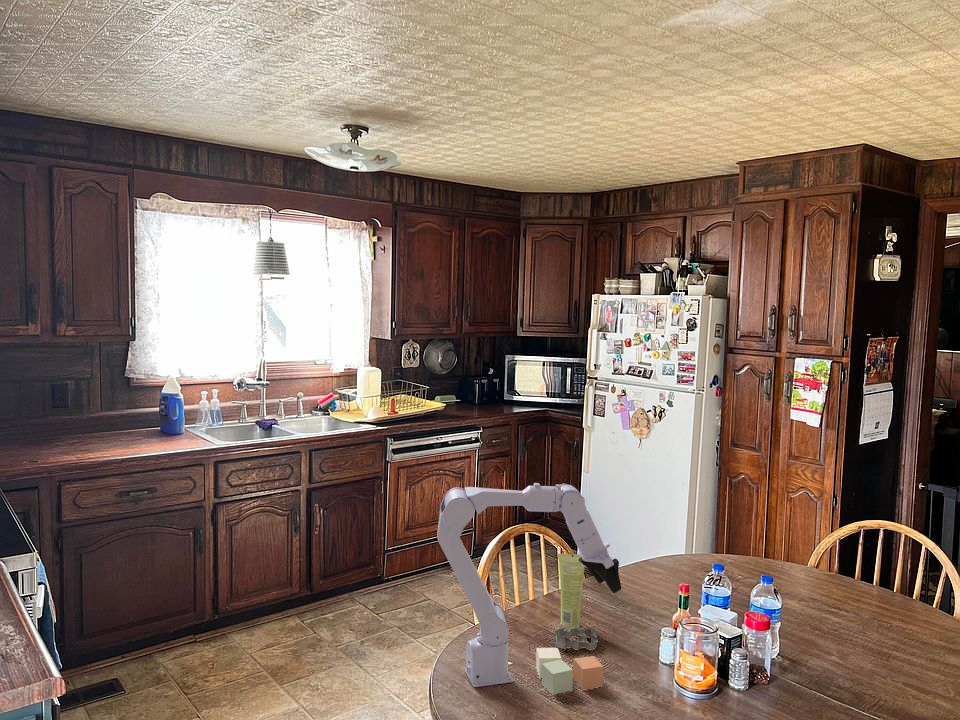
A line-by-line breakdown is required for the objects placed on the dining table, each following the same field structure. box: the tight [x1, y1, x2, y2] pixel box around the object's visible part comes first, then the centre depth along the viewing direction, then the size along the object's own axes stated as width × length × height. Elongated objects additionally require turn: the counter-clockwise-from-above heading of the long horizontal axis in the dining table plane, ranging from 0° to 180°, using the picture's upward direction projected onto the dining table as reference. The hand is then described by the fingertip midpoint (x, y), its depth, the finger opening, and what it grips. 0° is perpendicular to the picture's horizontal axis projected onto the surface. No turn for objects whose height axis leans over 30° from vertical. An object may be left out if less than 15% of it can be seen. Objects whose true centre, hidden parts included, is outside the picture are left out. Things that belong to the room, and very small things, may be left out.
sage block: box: [541, 659, 574, 696], centre depth 160 cm, size 5×5×5 cm
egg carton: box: [554, 625, 599, 649], centre depth 182 cm, size 11×8×4 cm
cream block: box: [535, 647, 562, 679], centre depth 167 cm, size 5×5×5 cm
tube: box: [557, 553, 586, 627], centre depth 192 cm, size 6×5×20 cm
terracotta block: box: [572, 655, 604, 690], centre depth 162 cm, size 5×5×5 cm
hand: (609, 585), depth 166 cm, fingers open, 7 cm apart
